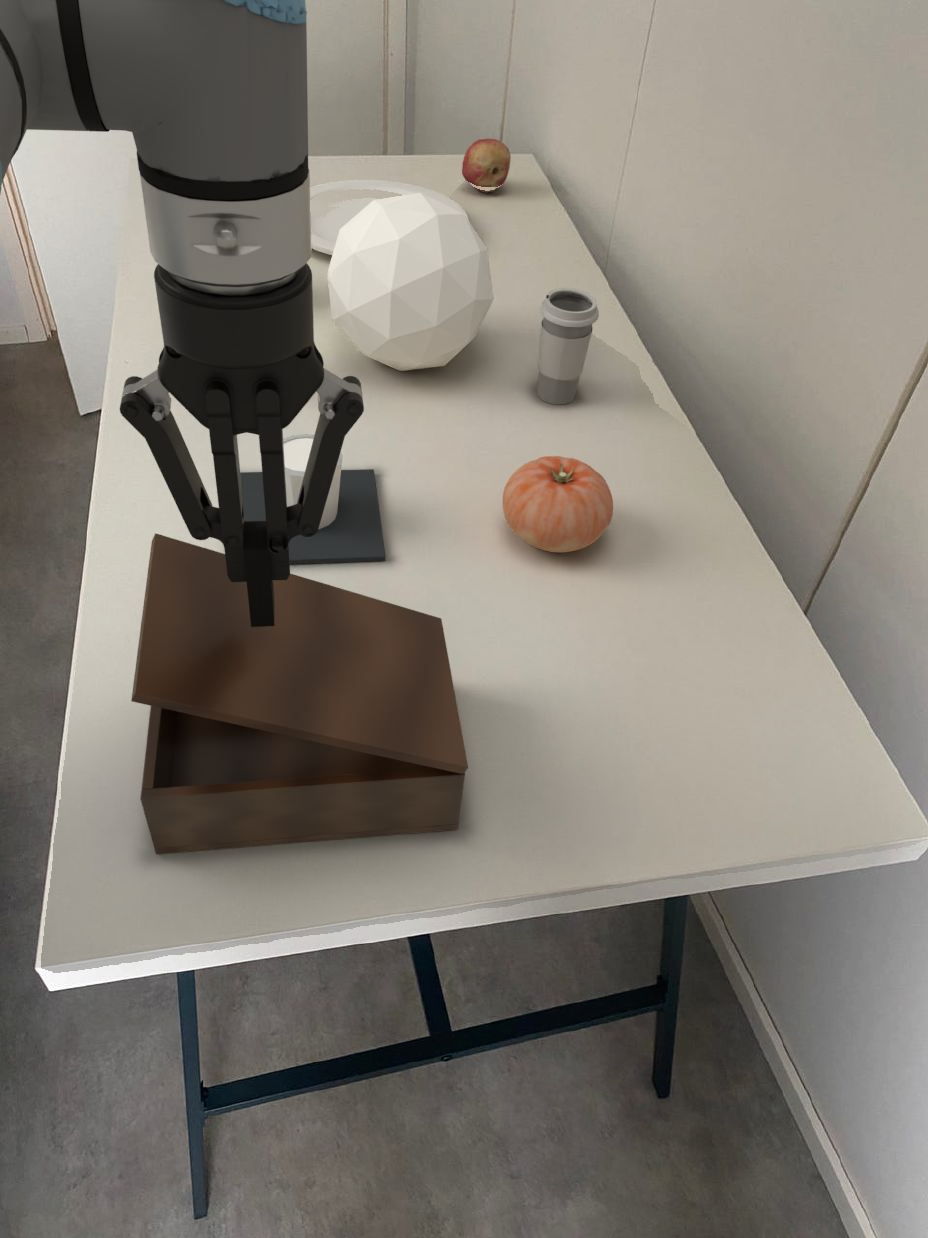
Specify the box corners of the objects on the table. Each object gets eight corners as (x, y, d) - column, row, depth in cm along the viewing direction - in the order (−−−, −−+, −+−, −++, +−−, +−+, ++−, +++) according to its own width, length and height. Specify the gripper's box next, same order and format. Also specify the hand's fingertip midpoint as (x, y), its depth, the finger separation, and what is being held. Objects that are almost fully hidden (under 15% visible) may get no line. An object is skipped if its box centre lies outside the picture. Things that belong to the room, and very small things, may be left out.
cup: (532, 374, 119) (545, 281, 110) (585, 383, 118) (603, 290, 110) (524, 405, 113) (537, 310, 105) (580, 414, 113) (598, 319, 105)
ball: (434, 390, 127) (534, 267, 120) (402, 419, 109) (518, 276, 101) (321, 291, 125) (416, 159, 117) (270, 304, 106) (378, 148, 99)
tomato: (477, 520, 97) (484, 455, 92) (561, 490, 102) (573, 426, 97) (541, 584, 91) (552, 518, 86) (627, 548, 96) (644, 484, 90)
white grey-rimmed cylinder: (261, 524, 94) (255, 465, 89) (290, 485, 98) (287, 426, 93) (327, 541, 92) (325, 482, 88) (353, 500, 97) (353, 442, 92)
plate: (244, 242, 139) (243, 226, 137) (336, 180, 158) (336, 166, 156) (421, 289, 132) (422, 273, 131) (495, 219, 151) (496, 204, 150)
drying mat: (235, 566, 90) (234, 562, 89) (238, 476, 100) (237, 472, 99) (385, 561, 92) (385, 556, 92) (373, 473, 102) (373, 468, 101)
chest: (155, 855, 68) (140, 799, 63) (170, 697, 78) (157, 639, 73) (458, 830, 71) (465, 775, 67) (434, 682, 81) (438, 625, 77)
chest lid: (130, 701, 57) (134, 693, 56) (151, 541, 67) (155, 532, 66) (462, 774, 66) (468, 767, 66) (436, 624, 77) (441, 618, 76)
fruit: (462, 198, 156) (465, 146, 151) (458, 180, 162) (462, 129, 156) (509, 200, 157) (515, 149, 152) (504, 182, 163) (509, 132, 157)
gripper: (80, 296, 43) (154, 658, 59) (374, 299, 45) (367, 649, 61) (101, 225, 48) (163, 576, 65) (363, 231, 50) (359, 570, 67)
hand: (262, 611), depth 63 cm, fingers closed
